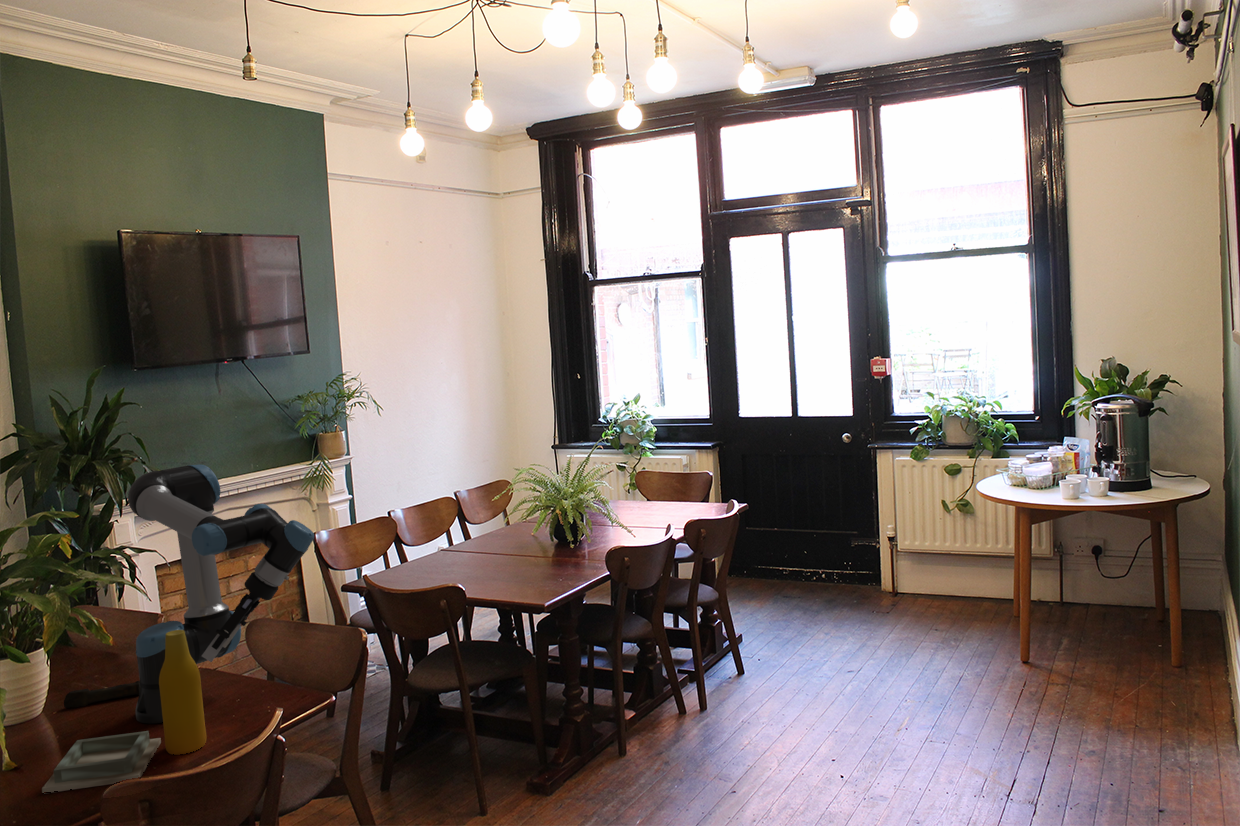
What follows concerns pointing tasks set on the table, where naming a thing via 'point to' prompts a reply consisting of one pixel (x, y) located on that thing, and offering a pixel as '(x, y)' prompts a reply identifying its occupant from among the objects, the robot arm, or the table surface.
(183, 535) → the robot arm
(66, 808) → the table surface
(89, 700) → the hand tool
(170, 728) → the beer bottle
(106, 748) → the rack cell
